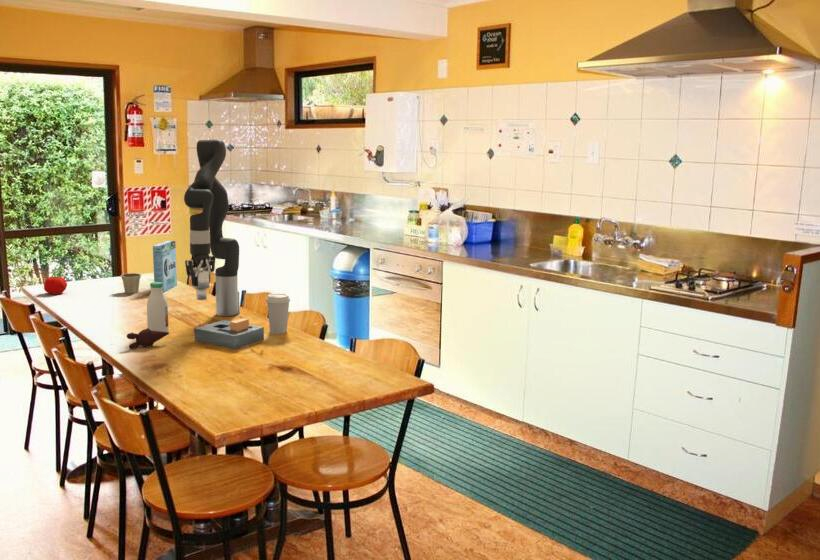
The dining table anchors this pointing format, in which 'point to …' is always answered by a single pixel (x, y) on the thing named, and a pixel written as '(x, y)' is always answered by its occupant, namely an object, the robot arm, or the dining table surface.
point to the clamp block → (239, 324)
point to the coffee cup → (278, 312)
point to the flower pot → (131, 282)
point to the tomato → (55, 285)
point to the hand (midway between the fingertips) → (201, 284)
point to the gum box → (165, 264)
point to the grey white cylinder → (202, 285)
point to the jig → (228, 335)
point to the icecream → (145, 337)
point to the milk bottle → (157, 309)
